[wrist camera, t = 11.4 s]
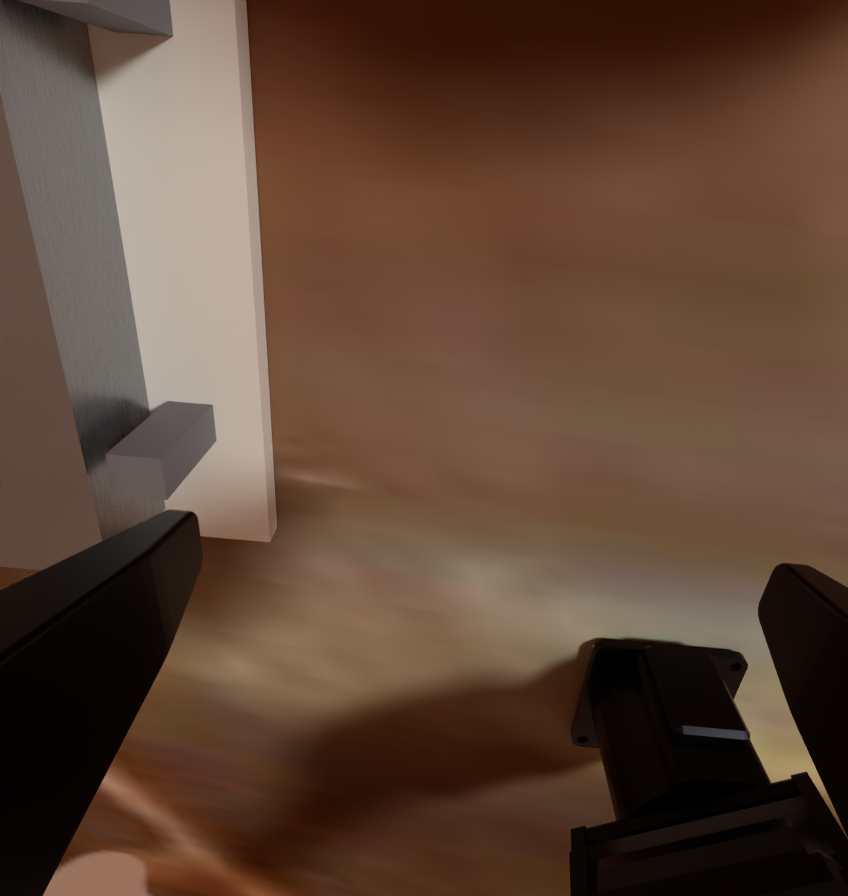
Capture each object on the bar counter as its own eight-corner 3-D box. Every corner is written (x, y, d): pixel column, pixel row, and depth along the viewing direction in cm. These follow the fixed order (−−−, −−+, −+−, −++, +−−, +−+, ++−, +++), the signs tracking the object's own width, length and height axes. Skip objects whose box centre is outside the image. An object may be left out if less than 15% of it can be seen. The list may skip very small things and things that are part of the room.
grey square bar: (165, 508, 23) (105, 582, 19) (62, 499, 23) (-19, 571, 19) (46, -229, 13) (-120, -380, 10) (-126, -240, 13) (-360, -394, 10)
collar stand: (277, 527, 24) (235, 614, 19) (-13, 502, 24) (-120, 582, 20) (232, -244, 14) (122, -432, 9) (-266, -276, 14) (-604, -474, 10)
